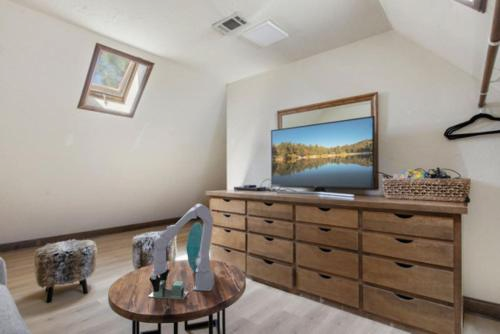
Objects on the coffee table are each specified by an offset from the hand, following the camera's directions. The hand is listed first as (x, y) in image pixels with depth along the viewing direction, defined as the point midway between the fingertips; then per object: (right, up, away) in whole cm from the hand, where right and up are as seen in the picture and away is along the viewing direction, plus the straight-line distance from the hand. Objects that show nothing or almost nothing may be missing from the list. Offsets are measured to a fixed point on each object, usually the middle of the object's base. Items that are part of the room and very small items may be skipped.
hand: (159, 288), depth 130 cm
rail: (+5, -3, -1) cm, 6 cm away
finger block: (0, -3, 0) cm, 3 cm away
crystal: (+13, -4, +30) cm, 33 cm away
